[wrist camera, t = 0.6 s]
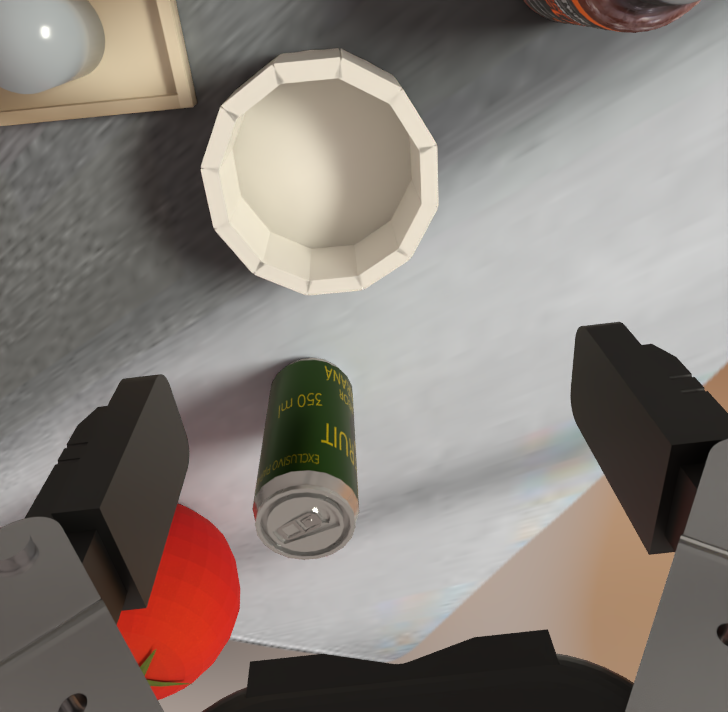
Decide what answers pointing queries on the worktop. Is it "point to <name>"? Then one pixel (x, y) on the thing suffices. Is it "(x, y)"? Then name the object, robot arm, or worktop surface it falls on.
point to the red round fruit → (185, 606)
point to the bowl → (321, 173)
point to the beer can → (308, 463)
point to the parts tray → (118, 69)
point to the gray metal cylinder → (47, 43)
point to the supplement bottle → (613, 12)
